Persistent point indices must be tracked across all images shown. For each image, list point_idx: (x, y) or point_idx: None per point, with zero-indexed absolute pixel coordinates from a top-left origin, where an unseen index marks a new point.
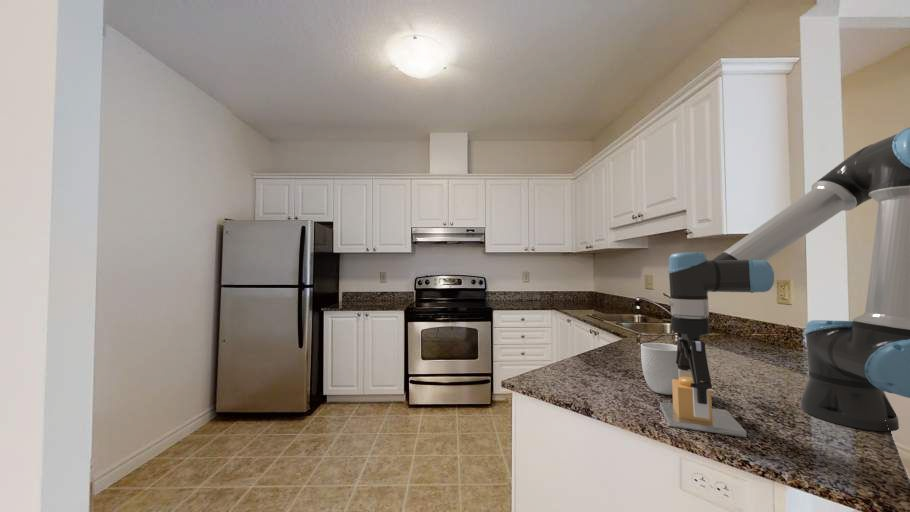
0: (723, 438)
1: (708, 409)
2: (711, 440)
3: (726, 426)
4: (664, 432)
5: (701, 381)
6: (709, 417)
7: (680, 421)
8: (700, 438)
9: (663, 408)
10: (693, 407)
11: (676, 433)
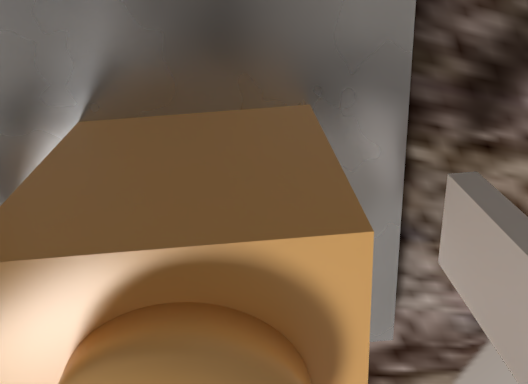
0: (469, 63)
1: (514, 212)
2: (519, 140)
3: (360, 19)
4: (474, 341)
5: (217, 361)
6: (484, 178)
7: (379, 289)
8: (505, 193)
9: None
10: (467, 303)
11: None
